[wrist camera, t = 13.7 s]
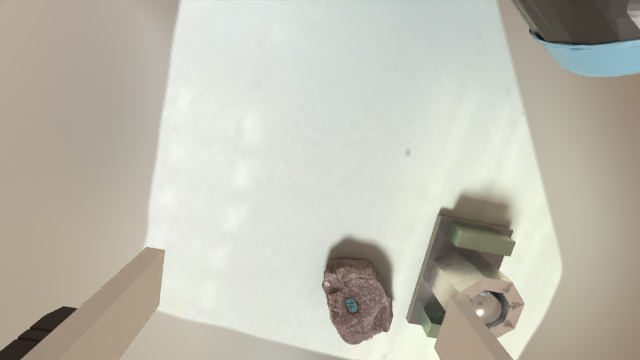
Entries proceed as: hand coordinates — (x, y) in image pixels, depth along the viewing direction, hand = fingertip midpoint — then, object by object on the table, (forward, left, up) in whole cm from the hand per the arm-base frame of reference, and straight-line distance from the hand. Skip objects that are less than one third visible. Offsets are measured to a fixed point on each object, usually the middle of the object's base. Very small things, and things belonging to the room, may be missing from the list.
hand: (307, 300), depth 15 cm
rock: (+15, +10, -27) cm, 33 cm away
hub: (+10, +23, -26) cm, 36 cm away
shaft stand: (+10, +23, -27) cm, 37 cm away
